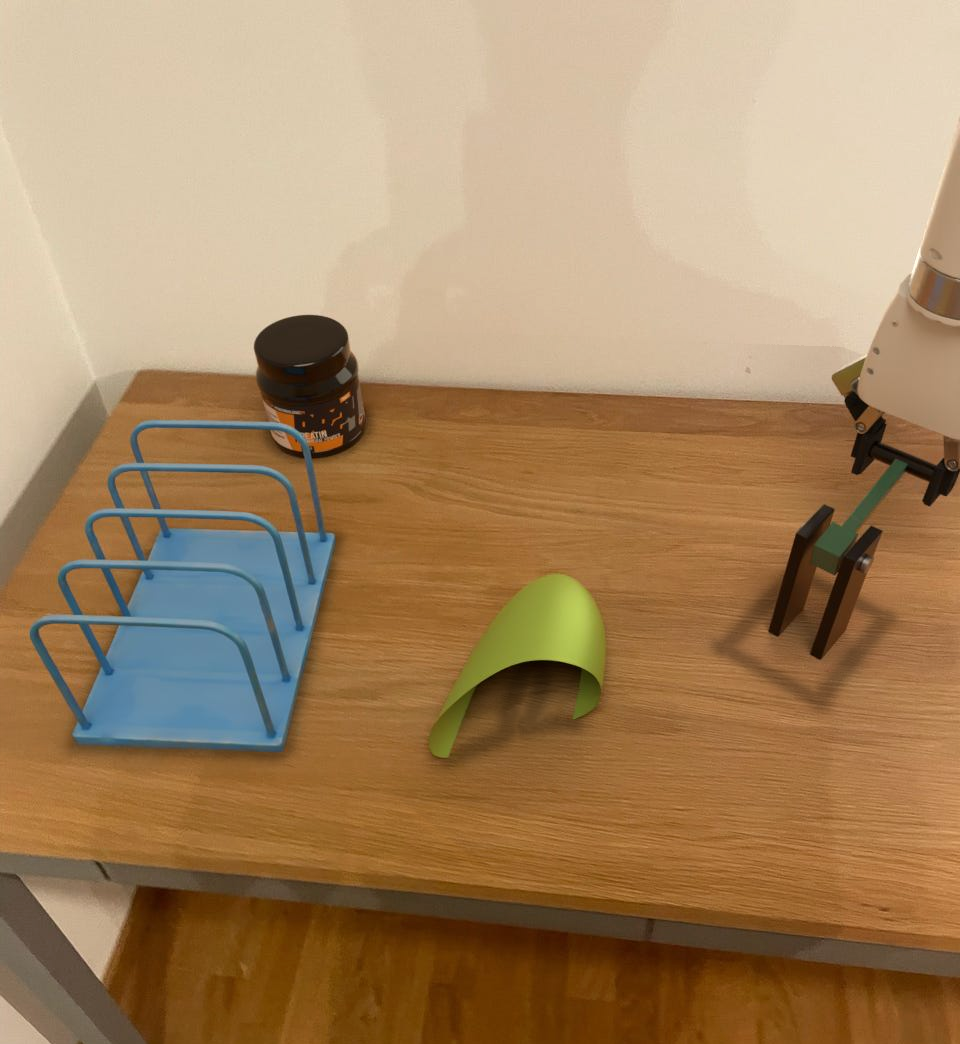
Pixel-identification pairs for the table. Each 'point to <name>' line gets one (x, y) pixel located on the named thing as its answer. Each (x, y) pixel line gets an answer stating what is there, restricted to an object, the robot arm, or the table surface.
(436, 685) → the table surface
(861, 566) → the bracket
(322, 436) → the supplement container
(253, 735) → the file sorter
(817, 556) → the lever
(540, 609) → the curved green shell
